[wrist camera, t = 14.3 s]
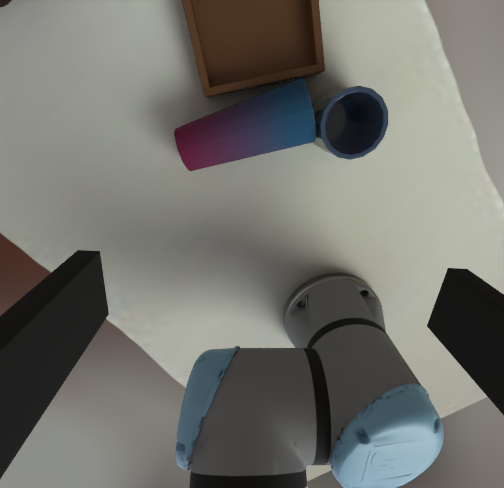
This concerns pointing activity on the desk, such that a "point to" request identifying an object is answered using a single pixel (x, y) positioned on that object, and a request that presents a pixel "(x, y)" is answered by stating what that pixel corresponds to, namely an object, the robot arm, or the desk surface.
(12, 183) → the desk surface
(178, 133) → the cup
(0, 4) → the coffee mug
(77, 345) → the robot arm
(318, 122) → the pen cup
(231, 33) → the pen tray
